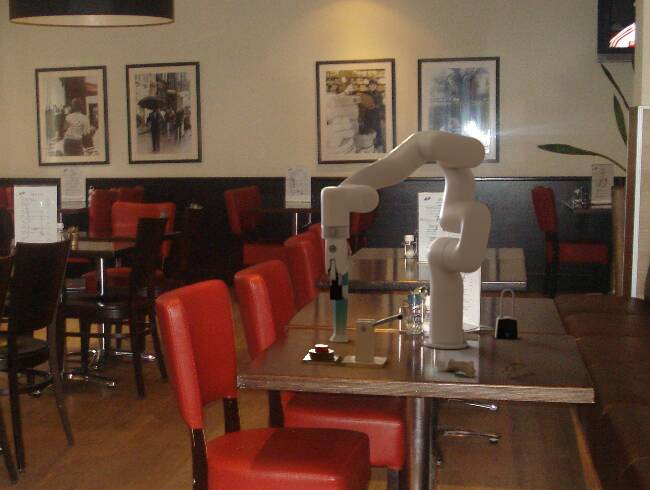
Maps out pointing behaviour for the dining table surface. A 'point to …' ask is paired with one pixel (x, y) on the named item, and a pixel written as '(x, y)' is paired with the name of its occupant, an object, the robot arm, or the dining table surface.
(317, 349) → the button
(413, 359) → the dining table surface
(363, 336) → the bracket
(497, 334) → the padlock
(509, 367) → the fish
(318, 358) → the button box
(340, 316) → the sculpture
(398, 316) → the lever
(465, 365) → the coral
